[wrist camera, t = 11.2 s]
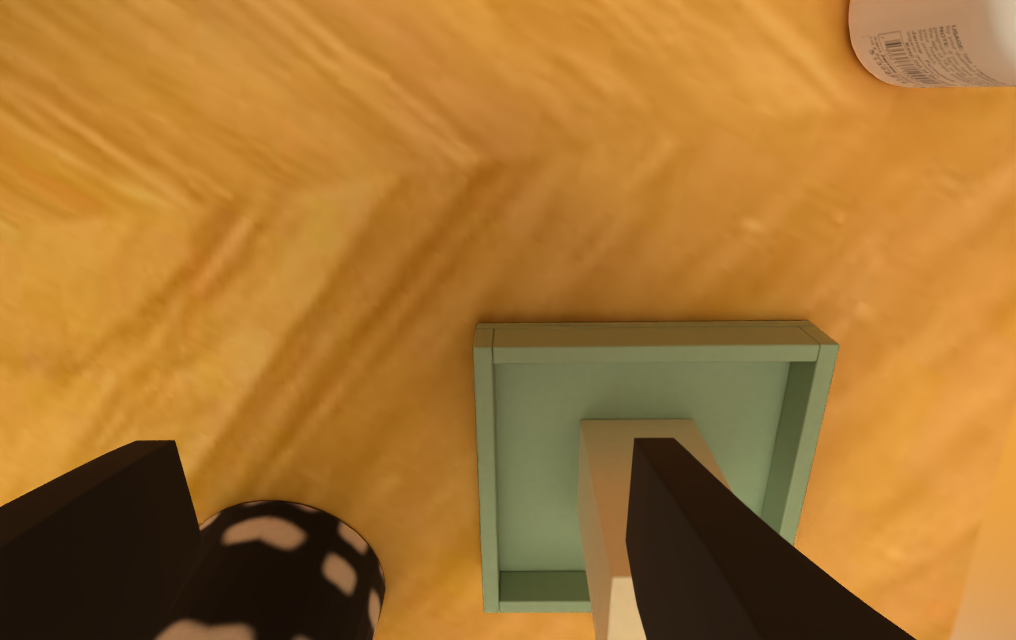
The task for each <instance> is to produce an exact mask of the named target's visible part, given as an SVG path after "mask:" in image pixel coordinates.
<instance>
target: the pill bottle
mask: <svg viewBox="0 0 1016 640" xmlns="http://www.w3.org/2000/svg"><path fill="white" fill-rule="evenodd" d="M848 23H849V31H850V39H851V44H852V47H853V49H854V51H855V53H856V55H857V57H858V59H859V61H860V62H861V63H862V65H863V66H864V67H865V68H866V69H867V70H868V71H869V72H870V73H871V74H873V75H874V76H875V77H876V78H878V79H880V80H881V81H883V82H885V83H888V84H891V85H895V86H901V87H908V88H916V87H918V88H931V87H1016V0H850V6H849V17H848Z"/></svg>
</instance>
